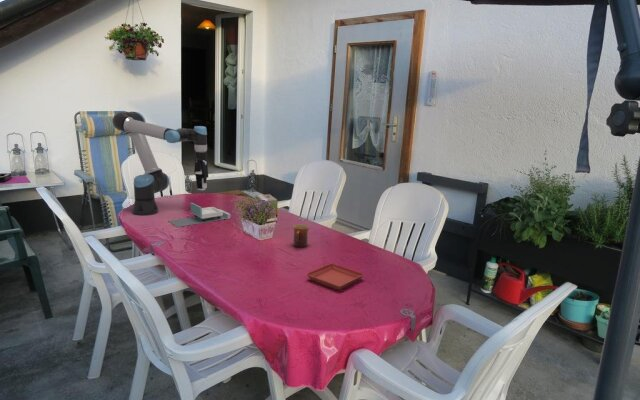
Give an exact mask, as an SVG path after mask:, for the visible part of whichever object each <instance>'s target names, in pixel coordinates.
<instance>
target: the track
mask: <svg viewBox="0 0 640 400" xmlns="http://www.w3.org/2000/svg"><path fill="white" fill-rule="evenodd" d="M217 209H218V208H217ZM218 210H221V211H223V216H221V218H220V219H218V218H217V216H216V217H210V218H206V220H205V221H202V220H201V218H200V217H195V216H192V217H191V216H190V217H185V218H178V219H172V220H168V221H167V223H169V222H170V224H171V223H172V224H171V225H172V226H174V225H175V226H174V227H176V228H182V227H181V226H183V227H189V226H193V225H194V224H195V225H199V224H200V225H201V224H206V223H212V222H213V221H214V222H218V220H220V221H225V220H224V219H226V220H230V218H231V217H232V214H231V213H229V212H227V211H225V210H223V209H221V208H219V209H218ZM188 225H189V226H188ZM195 225H194V226H195Z"/></svg>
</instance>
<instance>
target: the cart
mask: <svg viewBox="0 0 640 400" xmlns="http://www.w3.org/2000/svg"><path fill="white" fill-rule="evenodd" d="M189 204H190V213H191V214H193V217H200V218H201V220H202V221H205V220H206V218H210V217H216V216H217V218H218V219H220V218H221V216H223V211H224V210H223V211H221V210H222V209H221V210H218V208H217V207H215V206H209V207H202V206H200V205H197V204H196V203H193V202H190V203H189Z"/></svg>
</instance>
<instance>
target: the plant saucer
mask: <svg viewBox="0 0 640 400" xmlns="http://www.w3.org/2000/svg"><path fill="white" fill-rule="evenodd" d="M306 276H307V277H308V278H309V279H310V280H311V281H313V282H315V283H318V284H321V285H323V286H326V287H328V288H331V289H333V290H336V291H340V290H342V289H345V288H346V287H348V286H350V285H352V284H354V283H356V282H358V281H359V280H361V279H362V277H364V273H362V272H359V271H356V270H354V269H350V268H347V267H344V266H341V265H339V264H336V263H329V264H326V265H324V266H322V267H319V268H317V269H314V270H312V271H309V272H307V273H306Z"/></svg>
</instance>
